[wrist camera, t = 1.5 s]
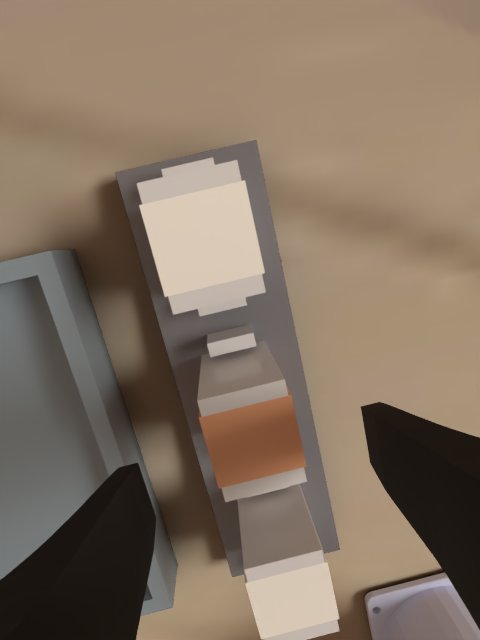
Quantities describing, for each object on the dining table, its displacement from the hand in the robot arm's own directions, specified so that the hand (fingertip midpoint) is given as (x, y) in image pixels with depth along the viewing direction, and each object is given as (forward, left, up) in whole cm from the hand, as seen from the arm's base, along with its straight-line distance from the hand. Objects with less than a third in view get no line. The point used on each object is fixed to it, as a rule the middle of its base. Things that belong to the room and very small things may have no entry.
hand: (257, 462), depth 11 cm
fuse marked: (0, 0, -6) cm, 6 cm away
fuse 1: (+7, 0, -6) cm, 9 cm away
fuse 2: (-7, 0, -6) cm, 9 cm away
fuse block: (0, 0, -7) cm, 7 cm away
